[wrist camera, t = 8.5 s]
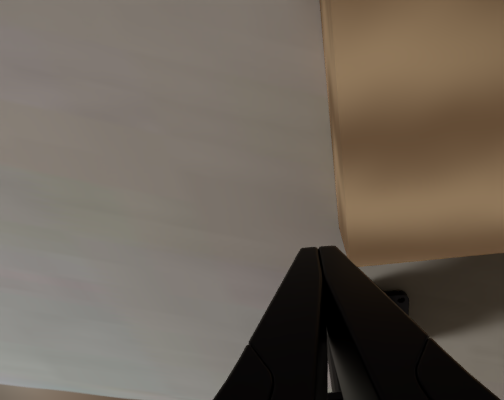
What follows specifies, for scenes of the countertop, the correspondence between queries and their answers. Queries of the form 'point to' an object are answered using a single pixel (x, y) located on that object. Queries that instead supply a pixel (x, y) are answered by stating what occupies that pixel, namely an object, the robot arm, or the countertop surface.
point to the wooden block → (416, 126)
